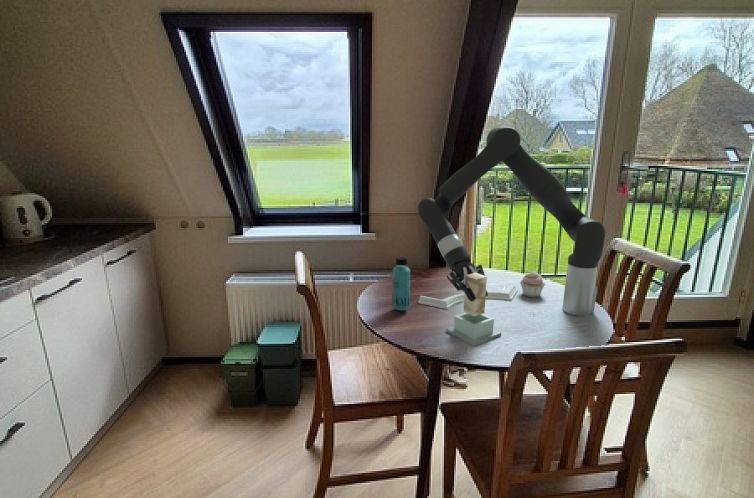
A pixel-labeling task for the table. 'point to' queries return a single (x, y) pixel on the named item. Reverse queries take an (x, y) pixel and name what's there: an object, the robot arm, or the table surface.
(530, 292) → the cupcake
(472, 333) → the square socket base
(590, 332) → the table surface
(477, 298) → the wooden block
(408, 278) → the beverage bottle
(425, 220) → the robot arm
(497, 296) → the molding
